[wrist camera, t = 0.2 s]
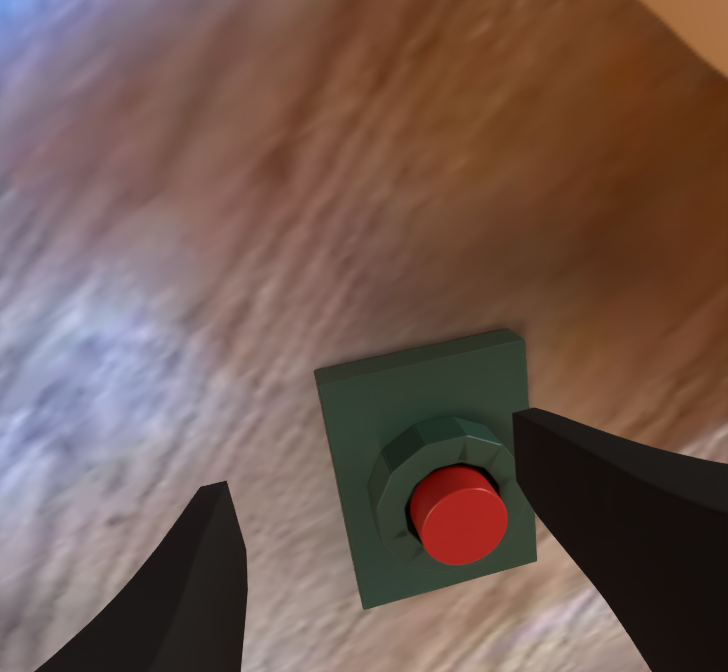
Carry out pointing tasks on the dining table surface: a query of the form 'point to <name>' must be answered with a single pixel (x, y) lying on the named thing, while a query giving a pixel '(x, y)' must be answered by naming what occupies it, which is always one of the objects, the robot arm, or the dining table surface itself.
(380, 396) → the control block
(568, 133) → the dining table surface
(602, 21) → the dining table surface
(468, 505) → the button
